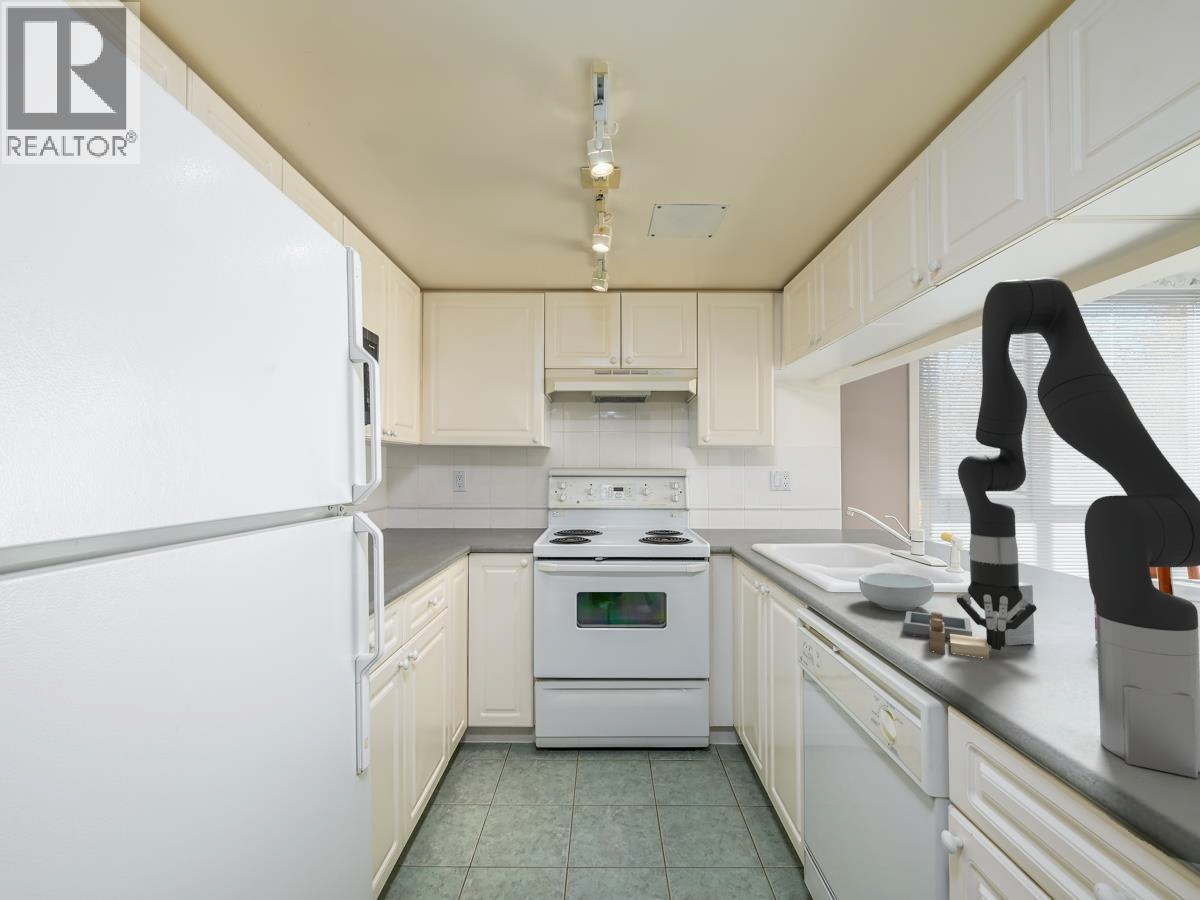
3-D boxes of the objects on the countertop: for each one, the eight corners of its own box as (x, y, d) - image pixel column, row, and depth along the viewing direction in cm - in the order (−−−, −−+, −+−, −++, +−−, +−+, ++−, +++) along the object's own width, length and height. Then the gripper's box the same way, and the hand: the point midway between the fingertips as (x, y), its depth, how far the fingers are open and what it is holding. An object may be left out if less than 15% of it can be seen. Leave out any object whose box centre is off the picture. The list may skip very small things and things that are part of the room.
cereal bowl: (882, 594, 148) (881, 569, 148) (947, 608, 134) (946, 580, 134) (845, 605, 139) (845, 577, 139) (911, 620, 125) (910, 590, 125)
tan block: (988, 661, 101) (988, 648, 101) (951, 655, 104) (950, 642, 104) (986, 651, 106) (986, 638, 106) (950, 646, 109) (949, 633, 109)
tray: (972, 643, 109) (972, 631, 109) (904, 634, 116) (904, 622, 116) (969, 629, 118) (969, 618, 118) (906, 621, 124) (906, 611, 124)
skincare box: (1016, 637, 112) (1014, 579, 112) (1036, 645, 108) (1034, 584, 108) (989, 639, 112) (987, 581, 112) (1008, 646, 107) (1006, 586, 107)
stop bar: (945, 653, 104) (944, 622, 104) (930, 651, 105) (929, 621, 105) (944, 641, 111) (943, 612, 111) (930, 639, 112) (929, 610, 112)
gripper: (952, 558, 104) (955, 648, 103) (1040, 565, 97) (1043, 661, 96) (951, 552, 110) (954, 637, 110) (1034, 557, 103) (1037, 648, 103)
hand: (996, 648), depth 103 cm, fingers closed
